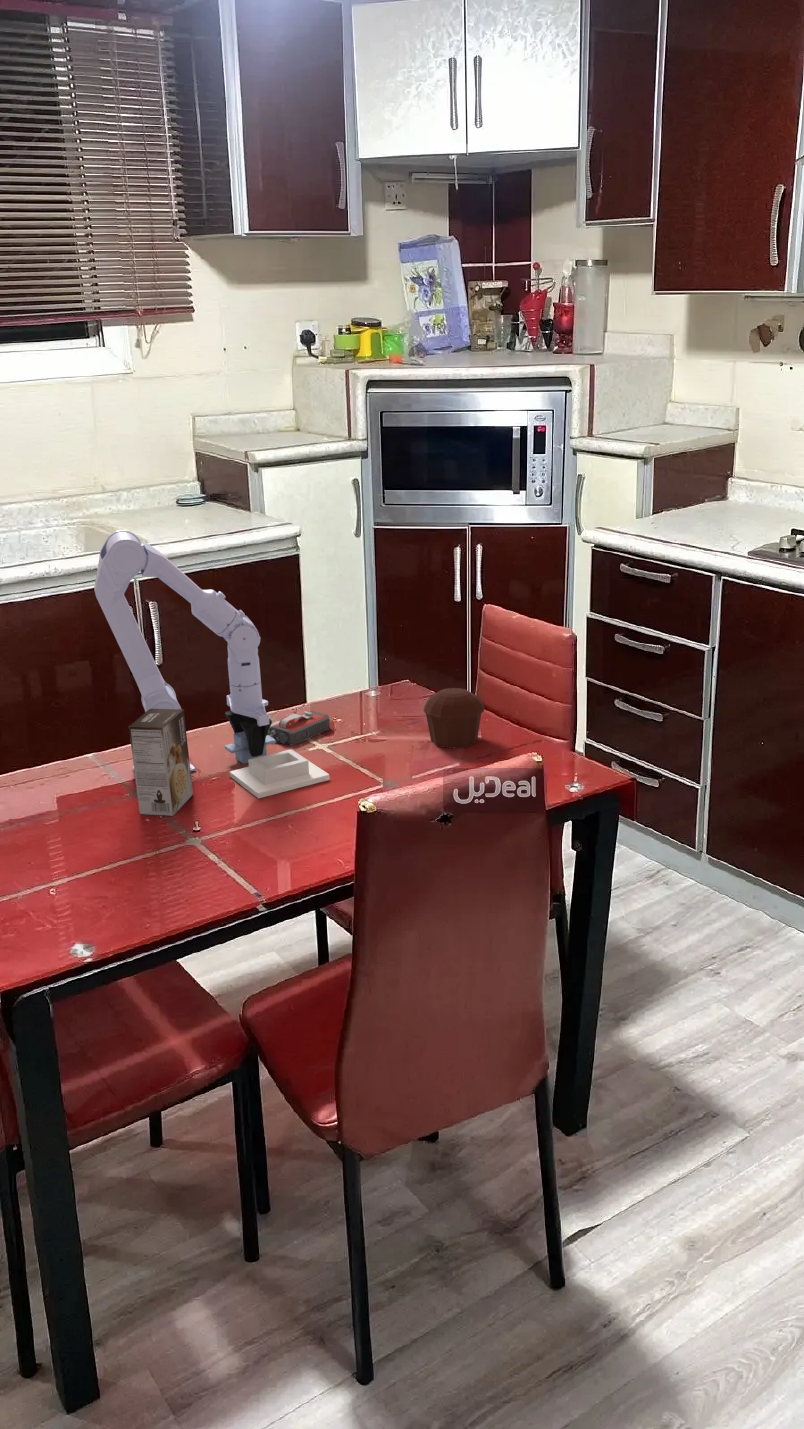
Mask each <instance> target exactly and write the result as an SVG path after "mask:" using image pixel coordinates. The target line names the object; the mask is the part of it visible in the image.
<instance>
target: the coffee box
mask: <svg viewBox="0 0 804 1429" xmlns="http://www.w3.org/2000/svg"><path fill="white" fill-rule="evenodd" d="M128 731H129V740H131V741H130V748H132V749H131V756H133V758H132V764H134V770H133V771H134V777H135V786H136V793H137V794H136V795H137V802H138V810H139V814H140V815H151V816H152V815H153V816H169V817H173V816H175V814H177V812H178V811H179V810H180V809H181V808H182V807H183V806H185V804H186V803H187V801H188V800H190V798H191V797H192V796H193V795H194V791H193V784H192V783H193V782H192V771H190V764H191V762H190V755H189V754H190V753H189V746H188V736H187V728H186V719H185V709H182V708H181V709H149V710H148V711H147V712H144V713H143V714H142V715H141V716H140V717H139V718H137V719H136V720H135V721H134V722H132V723H131V724H130V725H128Z"/></svg>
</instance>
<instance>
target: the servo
mask: <svg viewBox="0 0 804 1429" xmlns="http://www.w3.org/2000/svg"><path fill="white" fill-rule="evenodd" d="M233 742H234V743H229V744H228V743H227V744H225V745H224V750H226V751H227V752H229V753H230V754H235V759H236V760H237V761H239V762H240V763H241V764H247V763H248V760H249V759H253V758H257V757H261V756H265V755H268V752H267V746H269V745H273V744H276V743H277V741H276V740H275V739H273V738H272V737H270V736H269V735H267V736H266V739H265V744H264V750H263V754H262V755H259V756H255V757H252V756H251V754H250V751H249V746H248V741H247V738H246V735H245V732H239V733H235V734H234V733H233ZM248 764H249V763H248Z"/></svg>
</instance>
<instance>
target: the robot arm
mask: <svg viewBox="0 0 804 1429" xmlns="http://www.w3.org/2000/svg"><path fill="white" fill-rule="evenodd" d="M142 543H143V545H142ZM142 543H141V541H140V539H139V537H138V535H136V534H135V533H134V532H132V531H129V530H124V529H120V530H116V531H114V532H112V533H111V534H110V535H109V536H107V538H106V540H105V542H104V543H103V545H102V547H101V548H100V551H99V559H98V564H97V570H96V576H95V581H94V585H93V586H94V588H93V589H94V594H95V597H96V600H97V602H98V604H99V606H100V607H101V608H100V609H101V610H102V612H103V614H104V616H105V619H106V621H107V622H108V625H109V627H110V630H111V632H112V633H113V635H114V637H115V640H116V642H117V644H118V646H119V648H120V650H121V653H122V655H123V657H124V659H125V662H126V663H127V666H128V667H129V670H130V672H131V673H132V676H133V678H134V681H135V683H136V685H137V687H138V689H139V692H140V694H141V704H142V707H143V709H144V713H146V712H147V711H148V710H149V709H182V707H181V704H180V703H179V701H178V699H177V695H176V692H175V690H174V688H173V687H172V686H171V685H170V684H169V683H167V682H166V681H165V679H164V678H163V675H162V674H161V671H160V670H159V668H158V666H157V663H156V662H155V661H156V660H155V659H154V656H153V654H152V652H151V651H150V648H149V646H148V643H147V642H146V640H145V637H144V636H143V633H142V631H141V629H140V626H139V624H138V622H137V619H136V618H135V615H134V613H133V611H132V609H131V606H130V605H129V602H128V600H127V598H126V596H125V593H126V591H127V589H128V588H129V585H130V582H131V581H132V580H133V578H135V577H136V576H137V575H138V574H139V573H140V574H141V576H142V577H146V578H147V577H148V578H149V577H151V578H152V577H153V578H158V579H159V580H161V581H162V582H163V583H164V584H165V585H167V586H168V587H169V588H170V589H172V590H173V591H174V592H176V593H177V594H178V595H180V596H181V597H183V599H185V600H186V601H187V602H188V603H190V608H191V614H192V615H193V616H194V617H195V618H196V619H197V620H198V621H200V622H201V623H202V624H203V625H205V626H206V628H209V630H211V631H212V632H213V633H214V634H215V635H217V636H219V637H222V638H223V639H224V641H226V642H227V656H228V657H227V670H228V679H229V680H228V681H229V692H230V694H228V695H226V705H227V706H228V707H229V708H230V710H228V711H225V713H224V716H225V718H226V719H227V720H228V722H229V724H230V725H231V728H232V730H233V732H234V733H233V735H234V734H235V733H239V732H245V735H246V738H247V741H248V746H249V751H250V754H251V756H252V757H255V756H259V755H262V754H263V750H264V744H265V739H266V735H267V732H268V730H269V728H270V726H271V724H272V723H273V721H272V719H271V718H270V714H269V713H268V712H267V711H266V707H267V706H269V701H268V700H266V699H263V693H262V679H261V667H260V665H261V664H260V656H259V648H258V647H259V646H260V644H261V636H260V634H259V633H260V632H259V630H258V629H257V628H256V626H255V625H254V622H252V621H251V619H250V618H249V617H248V616H247V615H245V612H243V610H242V609H239V610H238V609H236V608H235V607H234V606H233V605H232V604H231V603H229V602H228V601H227V600H226V595H225V594H224V593H223V592H222V591H220V590H218V592H217V591H216V590H214V589H211V588H210V589H202V588H201V587H199V586H198V585H197V584H196V583H195V582H194V581H193V579H191V578H190V577H188V575H186V574H185V573H184V572H183V571H182V570H181V569H179V568H178V567H177V566H176V565H175V563H173V562H172V561H171V560H170V559H168V558H167V556H165V555H164V554H163V553H162V552H160V551H159V550H157V549H156V548H155V547H153V546H152V545H151V544H149V543H148V542H147V541H144V540H142ZM129 740H130V739H129ZM130 742H131V740H130ZM130 748H131V747H130ZM131 750H132V748H131ZM131 756H132V755H131ZM131 758H132V759H133V756H132V757H131ZM132 764H133V763H132ZM196 769H197V768H196V767H195V766H194V765H193V764H192V763H190V771H191V772H194V771H196ZM132 770H133V771H134V764H133V766H132Z"/></svg>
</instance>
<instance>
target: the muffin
mask: <svg viewBox="0 0 804 1429" xmlns="http://www.w3.org/2000/svg"><path fill="white" fill-rule="evenodd" d="M484 711H485V705H484V704H483V702H482V700H481V698H480V697H479V696H477V695H476V694H474V693H472V692H471V691H470V690H467V689H465V688H457V687H450V688H449V687H448V688H444V689H440V690H439V691H437V692H435V693H434V694H432V695H431V696H430V697H429V698H427V700H426V702H425V704H424V706H423V712H424V714H425V716H426V721H427V725H428V732H429V736H430V742H432V743H433V744H434V745H435V746H436V747H440V746H442V748H445V747H447V748H446V749H460V748H459V747H464V748H466V747H465V746H467V745H470V746H472V745H471V744H473V745H475V743H476V741H477V740H478V737H479V731H480V725H481V724H480V723H481V718H482V714H483V712H484ZM443 746H444V747H443ZM454 747H455V748H454ZM467 747H468V746H467Z"/></svg>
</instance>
